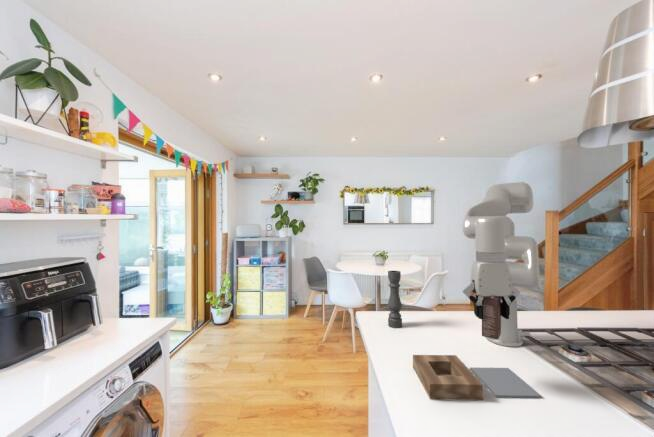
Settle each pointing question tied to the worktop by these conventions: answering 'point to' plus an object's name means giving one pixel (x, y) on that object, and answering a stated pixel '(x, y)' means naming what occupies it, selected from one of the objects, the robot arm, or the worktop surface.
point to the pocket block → (447, 378)
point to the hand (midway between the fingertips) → (491, 317)
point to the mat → (504, 383)
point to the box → (491, 317)
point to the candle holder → (394, 300)
